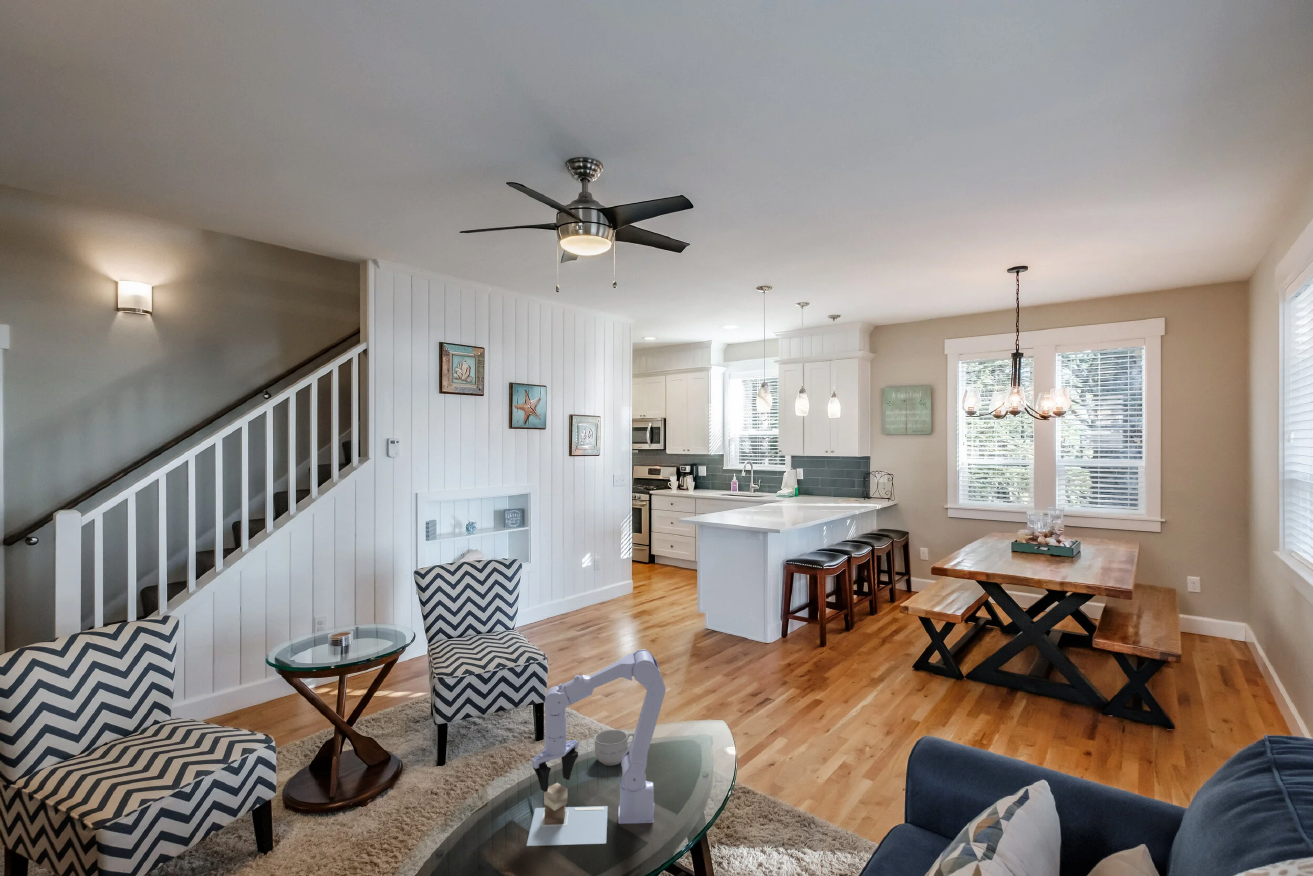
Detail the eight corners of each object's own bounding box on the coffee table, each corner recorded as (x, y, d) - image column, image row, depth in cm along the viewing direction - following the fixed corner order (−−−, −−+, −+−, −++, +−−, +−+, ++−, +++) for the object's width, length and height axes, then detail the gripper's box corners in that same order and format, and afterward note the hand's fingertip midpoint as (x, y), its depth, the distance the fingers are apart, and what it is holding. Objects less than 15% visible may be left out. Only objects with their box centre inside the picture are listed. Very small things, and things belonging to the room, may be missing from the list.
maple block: (557, 797, 170) (557, 782, 170) (567, 803, 167) (567, 788, 167) (544, 804, 167) (544, 789, 167) (554, 810, 164) (554, 795, 164)
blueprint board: (607, 808, 173) (607, 805, 173) (606, 845, 157) (606, 843, 157) (535, 810, 172) (535, 807, 172) (526, 848, 156) (526, 845, 156)
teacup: (597, 771, 192) (597, 746, 192) (591, 754, 202) (591, 730, 202) (640, 765, 196) (641, 740, 196) (633, 749, 206) (633, 725, 206)
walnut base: (565, 812, 170) (565, 798, 170) (563, 824, 165) (563, 808, 165) (546, 813, 169) (547, 798, 169) (544, 824, 164) (544, 809, 164)
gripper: (566, 720, 175) (566, 768, 175) (524, 738, 164) (524, 789, 164) (583, 728, 170) (583, 777, 170) (541, 747, 160) (540, 800, 160)
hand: (555, 784), depth 167 cm, fingers open, 7 cm apart
